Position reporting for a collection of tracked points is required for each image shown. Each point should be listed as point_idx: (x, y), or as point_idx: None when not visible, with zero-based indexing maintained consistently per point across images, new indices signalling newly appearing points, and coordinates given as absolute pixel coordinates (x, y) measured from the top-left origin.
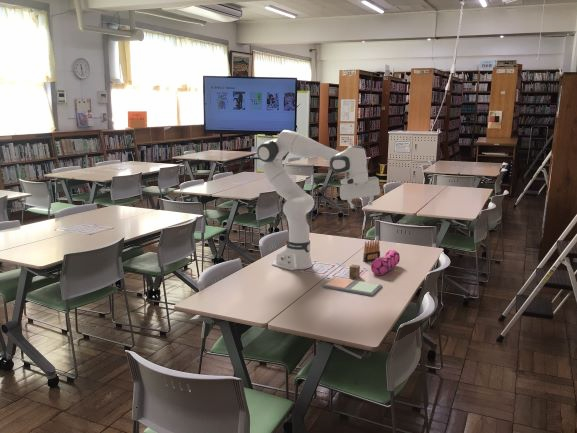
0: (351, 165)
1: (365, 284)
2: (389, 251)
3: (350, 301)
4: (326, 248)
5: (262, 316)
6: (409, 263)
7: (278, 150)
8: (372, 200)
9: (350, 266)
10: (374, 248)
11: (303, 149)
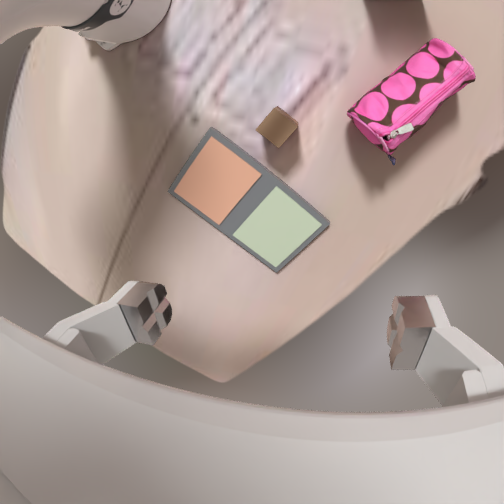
0: None
1: (283, 214)
2: (452, 60)
3: (220, 280)
4: None
5: (86, 289)
6: (487, 71)
7: None
8: (441, 382)
9: (259, 129)
10: None
11: None
